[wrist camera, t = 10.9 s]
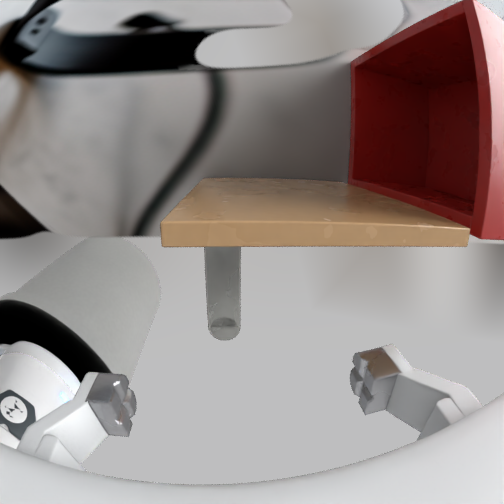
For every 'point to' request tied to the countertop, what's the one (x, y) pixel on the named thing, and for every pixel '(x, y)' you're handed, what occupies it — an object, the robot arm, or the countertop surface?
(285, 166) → the countertop surface
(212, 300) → the door
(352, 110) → the cabinet
